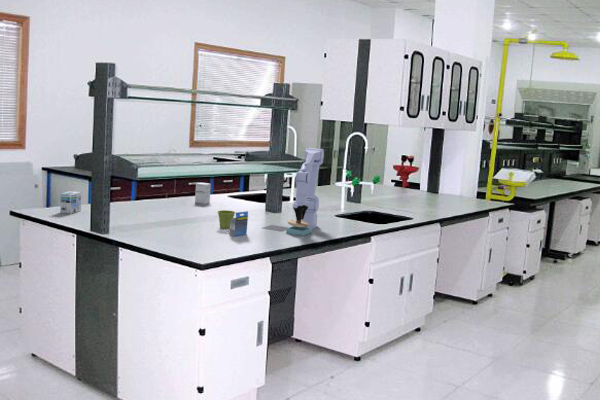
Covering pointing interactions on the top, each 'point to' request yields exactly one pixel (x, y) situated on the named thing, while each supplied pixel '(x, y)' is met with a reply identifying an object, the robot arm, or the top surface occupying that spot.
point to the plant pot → (225, 218)
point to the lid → (298, 223)
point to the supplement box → (202, 193)
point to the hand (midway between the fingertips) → (299, 219)
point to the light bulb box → (70, 202)
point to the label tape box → (239, 224)
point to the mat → (275, 228)
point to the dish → (299, 230)
